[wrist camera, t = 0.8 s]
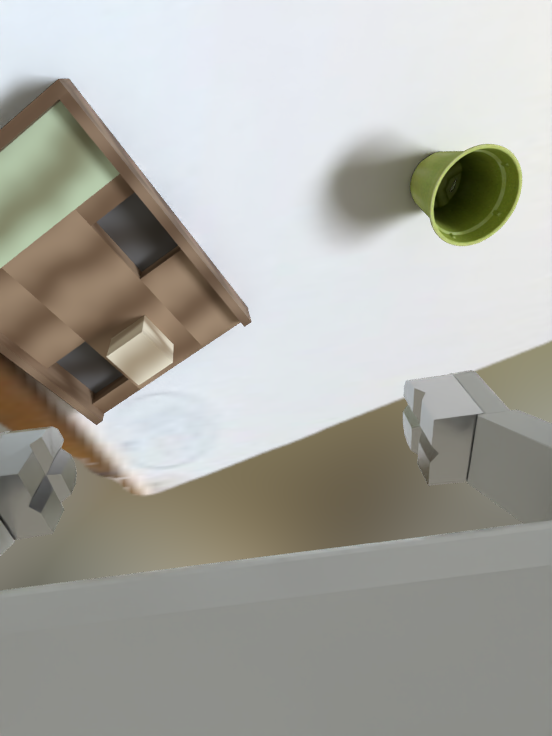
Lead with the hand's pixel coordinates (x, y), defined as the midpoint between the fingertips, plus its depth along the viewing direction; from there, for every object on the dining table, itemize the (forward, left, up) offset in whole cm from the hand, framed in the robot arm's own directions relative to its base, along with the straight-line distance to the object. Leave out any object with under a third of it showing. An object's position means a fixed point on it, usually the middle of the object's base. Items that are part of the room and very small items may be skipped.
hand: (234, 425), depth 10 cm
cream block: (+12, -17, -38) cm, 44 cm away
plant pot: (+17, +21, -41) cm, 49 cm away
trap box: (+3, -17, -41) cm, 44 cm away
